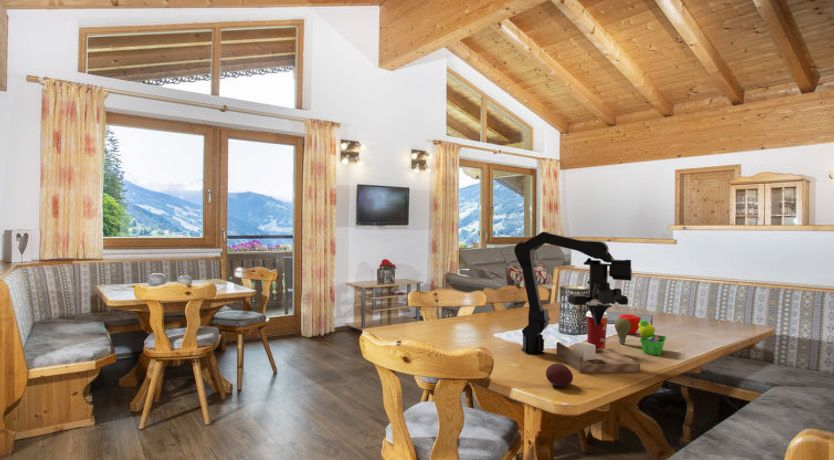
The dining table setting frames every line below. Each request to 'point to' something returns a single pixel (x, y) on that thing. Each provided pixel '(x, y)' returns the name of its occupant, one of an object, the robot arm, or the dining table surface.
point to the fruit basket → (650, 339)
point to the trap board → (597, 361)
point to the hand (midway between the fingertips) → (597, 325)
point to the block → (585, 350)
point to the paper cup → (596, 331)
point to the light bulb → (622, 329)
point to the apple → (632, 322)
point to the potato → (559, 375)
